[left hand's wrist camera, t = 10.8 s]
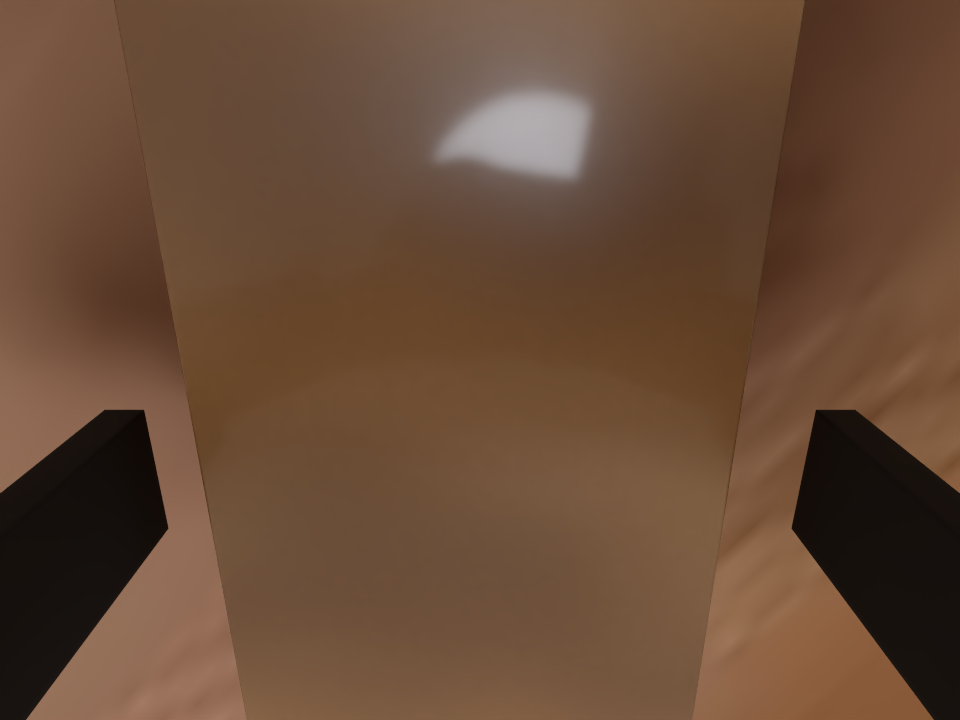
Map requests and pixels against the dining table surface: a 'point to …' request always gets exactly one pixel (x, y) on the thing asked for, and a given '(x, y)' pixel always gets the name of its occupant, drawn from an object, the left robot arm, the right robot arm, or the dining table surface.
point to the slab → (464, 334)
